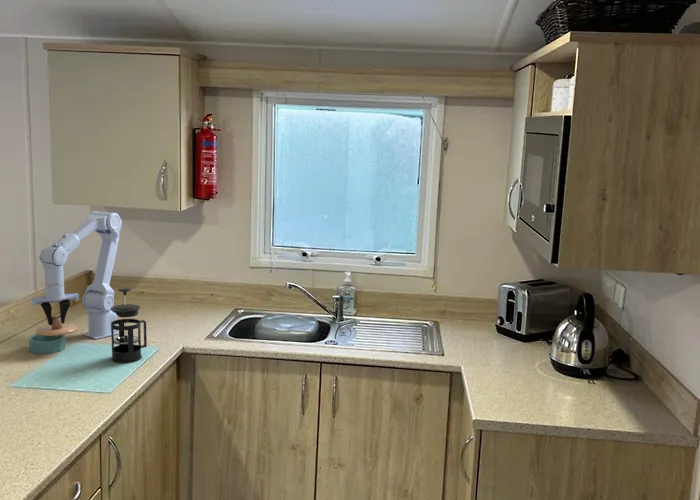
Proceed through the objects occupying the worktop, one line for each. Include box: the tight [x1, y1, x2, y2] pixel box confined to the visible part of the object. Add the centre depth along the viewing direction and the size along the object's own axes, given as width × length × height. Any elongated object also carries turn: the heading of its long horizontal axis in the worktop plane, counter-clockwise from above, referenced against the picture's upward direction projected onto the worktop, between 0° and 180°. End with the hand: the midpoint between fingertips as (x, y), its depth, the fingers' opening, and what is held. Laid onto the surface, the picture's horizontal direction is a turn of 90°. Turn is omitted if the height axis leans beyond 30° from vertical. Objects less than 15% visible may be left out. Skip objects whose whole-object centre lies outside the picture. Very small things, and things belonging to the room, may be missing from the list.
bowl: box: [28, 333, 66, 355], centre depth 232 cm, size 11×11×4 cm
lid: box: [34, 315, 79, 336], centre depth 229 cm, size 13×13×5 cm
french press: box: [110, 287, 148, 364], centre depth 223 cm, size 12×9×23 cm
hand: (56, 323), depth 230 cm, fingers closed on lid, 3 cm apart
